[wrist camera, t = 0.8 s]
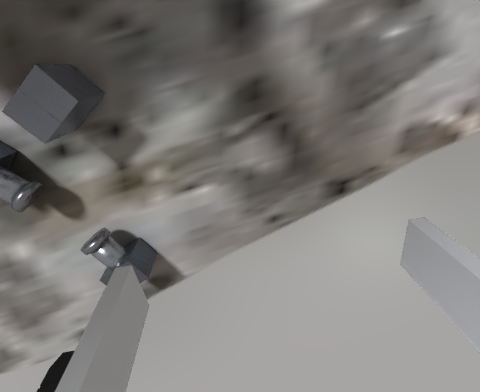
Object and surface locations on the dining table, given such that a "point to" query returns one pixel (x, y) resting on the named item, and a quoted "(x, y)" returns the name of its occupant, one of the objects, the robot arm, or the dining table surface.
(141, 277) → the shaft
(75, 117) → the block
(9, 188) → the shaft
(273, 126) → the dining table surface
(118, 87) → the dining table surface
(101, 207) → the dining table surface
